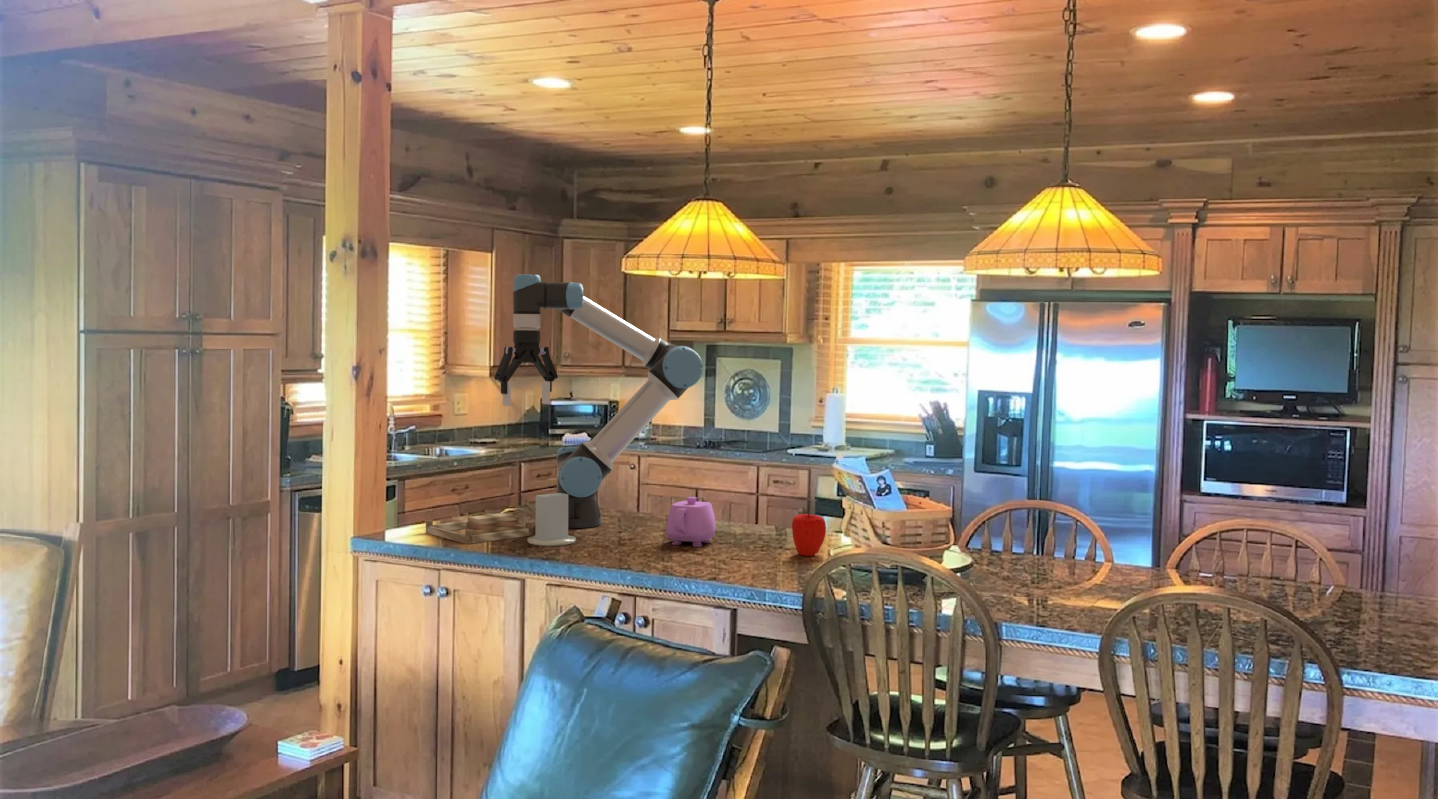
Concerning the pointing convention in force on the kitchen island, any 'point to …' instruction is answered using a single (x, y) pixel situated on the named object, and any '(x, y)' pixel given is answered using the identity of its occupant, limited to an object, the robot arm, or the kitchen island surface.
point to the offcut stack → (491, 523)
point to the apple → (808, 533)
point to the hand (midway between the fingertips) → (526, 405)
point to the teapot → (691, 522)
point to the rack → (468, 538)
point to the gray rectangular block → (551, 516)
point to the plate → (552, 541)
